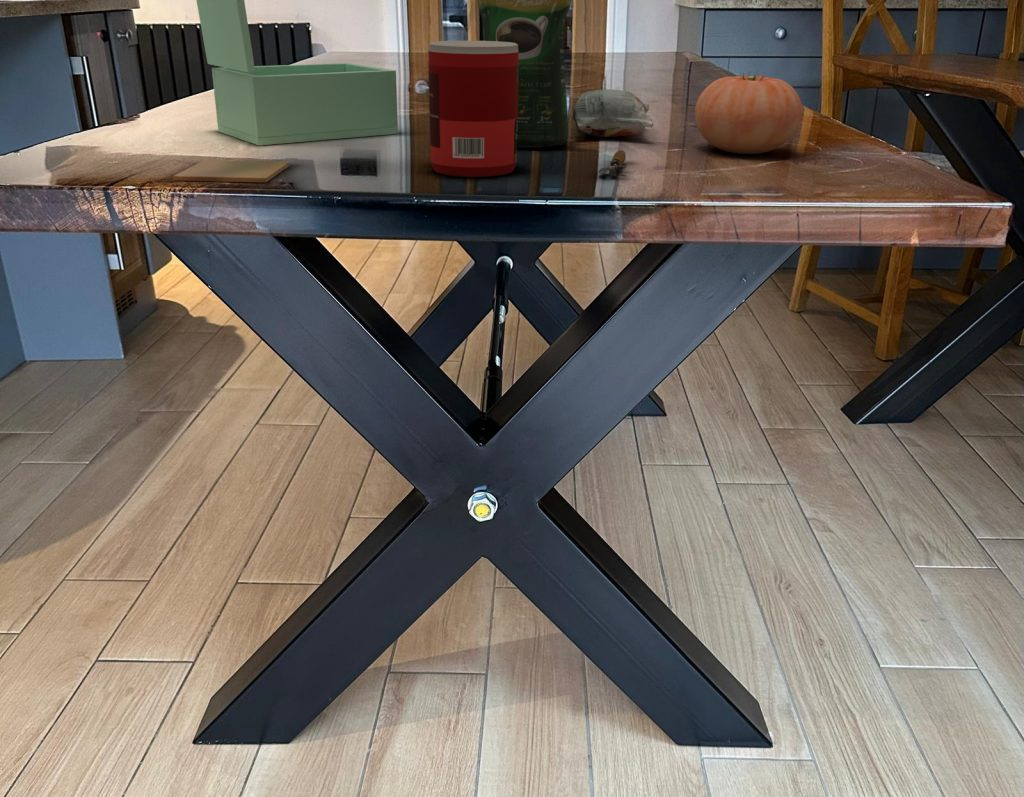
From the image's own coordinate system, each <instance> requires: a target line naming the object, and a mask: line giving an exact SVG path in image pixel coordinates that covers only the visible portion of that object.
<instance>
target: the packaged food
mask: <svg viewBox="0 0 1024 797" xmlns="http://www.w3.org/2000/svg"><path fill="white" fill-rule="evenodd" d="M649 110H650V104H649V103H644V101H642V100H641V99H640V98H639V97H638V96H637V95H635V94H634V93H632V92H630V91H627V90H622V89H608V88H607V89H594V90H590V91H585V92H584V93H582V94H580V96H579V98H578V100H577V103H576V105H575V106H574V107H573V110H572V116H573V120H574V123H575V127H576V129H578V130H579V131H580V132H582V133H584V134H587V135H589V136H593V137H595V138H596V137H597V138H613V137H614V138H615V137H616V138H617V137H628V136H636V135H639V134H640V133H642V132H643V131H644V130H645V129H646V128H651V129H652V128H653V127H654V122H653V118H652V116H651V115H650V114H648V112H649Z"/></svg>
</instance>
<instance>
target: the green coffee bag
mask: <svg viewBox="0 0 1024 797" xmlns="http://www.w3.org/2000/svg"><path fill="white" fill-rule="evenodd" d="M476 3H477V7H478V10H479V13H480V17H481V20H482V38H483V39H482V41H499V42H511V43H516V44H518V51H519V74H518V122H517V149H538V148H550V147H554V146H556V145H557V146H559V147H560V146H562V145H563V144H565V143H566V141H567V139H568V136H569V112H568V99H567V98H568V97H567V86H566V71H565V70H566V69H565V23H566V18H567V15H568V13H569V10H570V8H571V6H572V5H571V4H572V0H476Z"/></svg>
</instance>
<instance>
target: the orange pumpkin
mask: <svg viewBox="0 0 1024 797" xmlns="http://www.w3.org/2000/svg"><path fill="white" fill-rule="evenodd" d="M741 73H742V74H741ZM765 74H766V73H765V72H764V73H763V75H762V73H759V75H758V76H757V73H755V74H754V76H751V73H750V71H748V73H747V75H745V73H744V72H741V71H740V72H739V75H736V76H724V77H720V78H718V79H716V80H714V81H712V82H711V83H710V84H709V85H707V86H706V87H705V88H704V90H703V91H702V92H701V93H700V95H699V97H698V98H697V100H696V103H695V108H694V119H695V124H696V127H697V130H698V132H699V133H700V135H701V136H702V137H703V139H704V140H705V141H707V143H709V144H710V145H712V146H713V147H714V148H716V149H717V150H721V151H723V152H727V153H730V154H737V155H759V154H764V153H768V152H771V151H773V150H776V149H778V148H780V147H782V146H783V145H784V144H786V143H787V142H788V141H790V140H791V138H792V137H793V136H795V134H796V132H797V131H798V128H800V125H801V122H802V119H803V114H804V113H803V104H802V101H801V98H800V96H799V94H798V92H797V91H796V90H795V88H794V87H793V86H792V85H791V84H789V83H788V82H787V81H785V80H783V79H780V78H776V77H767V76H765Z"/></svg>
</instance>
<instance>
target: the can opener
mask: <svg viewBox="0 0 1024 797" xmlns="http://www.w3.org/2000/svg"><path fill="white" fill-rule="evenodd" d="M626 159H627V155H626V152H625V151H624V150H622V149H620V150H617V151H616V152H615V153H613V156H612V160H611V162H610V164H609V165H610V166H607V167H606V166H605V167H602V168H600V169H599V170H598V173H599V174H601V175H602V174H603V175H605V174H606V173H607V171H608V172H609V177H616V176H617V171H618V170H620V169H625V168H627V165H625V164H624V163H625V161H626Z"/></svg>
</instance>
